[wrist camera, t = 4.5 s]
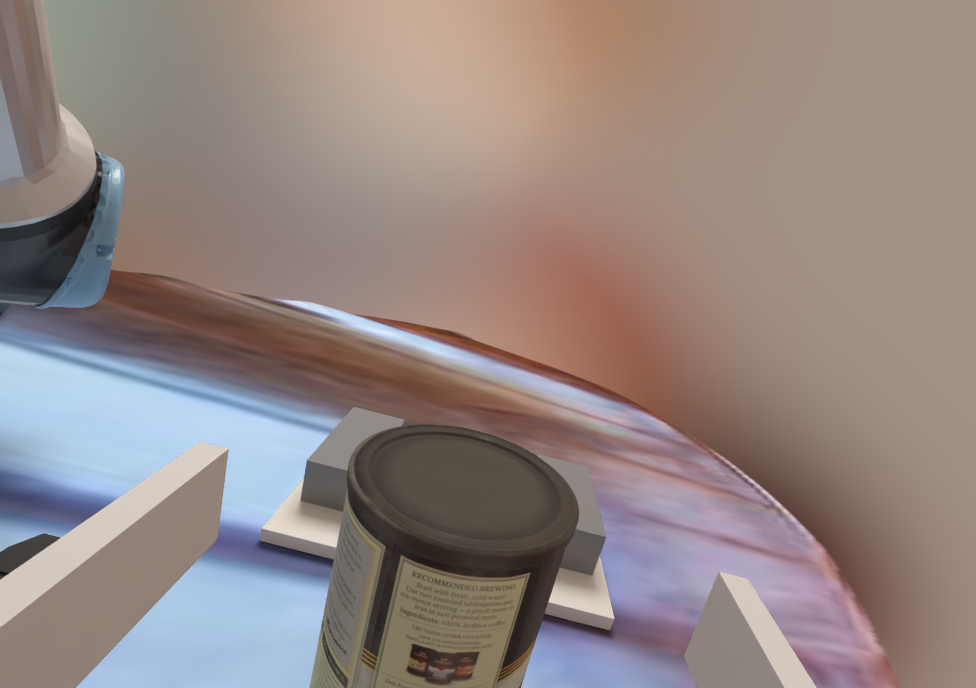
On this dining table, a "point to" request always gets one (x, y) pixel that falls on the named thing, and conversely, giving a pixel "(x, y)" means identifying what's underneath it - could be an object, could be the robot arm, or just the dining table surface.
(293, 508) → the mounting board
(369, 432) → the block
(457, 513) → the coffee can
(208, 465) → the robot arm
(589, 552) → the block
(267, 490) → the dining table surface
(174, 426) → the dining table surface
